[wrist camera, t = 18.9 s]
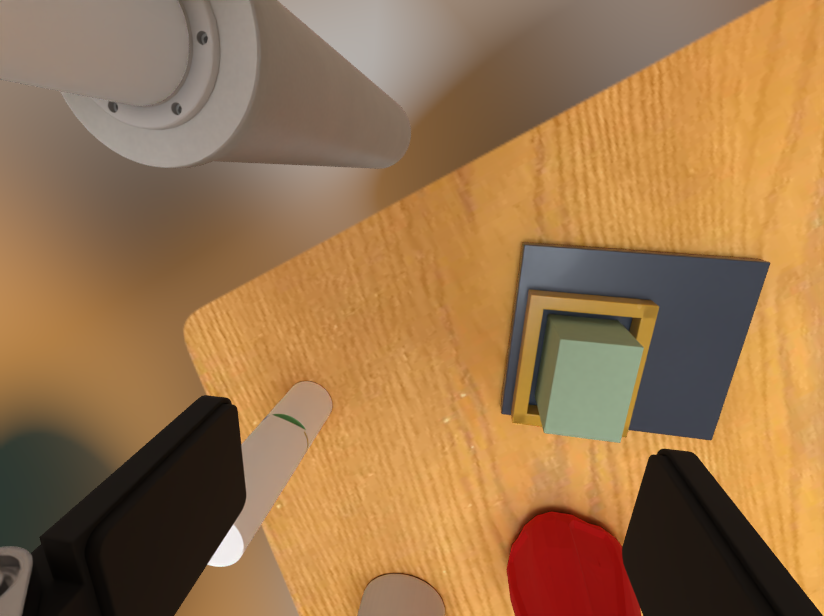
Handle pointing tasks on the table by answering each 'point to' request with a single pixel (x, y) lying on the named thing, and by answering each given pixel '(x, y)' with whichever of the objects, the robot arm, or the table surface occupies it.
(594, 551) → the water bottle
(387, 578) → the mug
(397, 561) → the table surface
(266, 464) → the tube
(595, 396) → the sage green block
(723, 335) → the backing plate
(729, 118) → the table surface
